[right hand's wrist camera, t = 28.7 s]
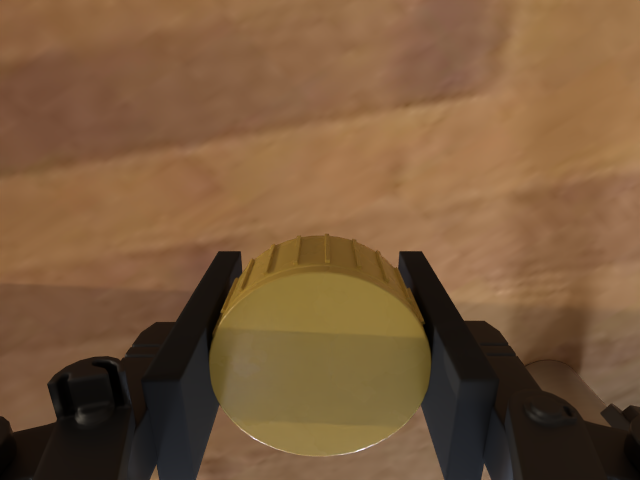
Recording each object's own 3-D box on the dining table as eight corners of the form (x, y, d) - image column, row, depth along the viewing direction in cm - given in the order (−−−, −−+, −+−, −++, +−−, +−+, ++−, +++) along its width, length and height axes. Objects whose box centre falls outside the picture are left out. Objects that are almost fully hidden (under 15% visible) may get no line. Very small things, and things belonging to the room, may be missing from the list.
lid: (413, 390, 13) (432, 453, 11) (240, 400, 13) (223, 464, 11) (415, 225, 11) (439, 261, 9) (212, 239, 11) (185, 277, 9)
